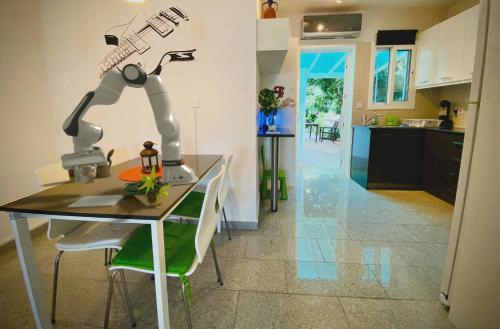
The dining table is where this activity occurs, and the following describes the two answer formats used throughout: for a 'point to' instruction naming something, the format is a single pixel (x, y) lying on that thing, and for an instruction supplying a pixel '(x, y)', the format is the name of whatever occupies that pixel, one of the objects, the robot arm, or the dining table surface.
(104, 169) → the wooden mug
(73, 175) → the canned food
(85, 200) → the grey-blue mat
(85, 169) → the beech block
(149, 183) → the daffodil flowers
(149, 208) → the dining table surface
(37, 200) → the dining table surface
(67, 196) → the dining table surface
